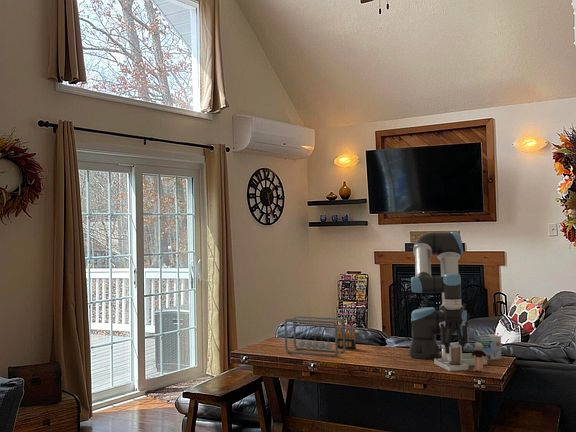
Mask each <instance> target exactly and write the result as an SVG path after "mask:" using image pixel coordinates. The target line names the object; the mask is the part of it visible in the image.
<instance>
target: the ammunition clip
mask: <svg viewBox="0 0 576 432" xmlns="http://www.w3.org/2000/svg"><path fill="white" fill-rule="evenodd" d="M339 326H340V327H339ZM337 343H338V349H343V326H342V325H337ZM356 349H357V345H356V333H355V328H354V326H352V327H351V326H349V327H348V325H346V326H345V350H356Z"/></svg>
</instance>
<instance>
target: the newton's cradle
mask: <svg viewBox="0 0 576 432" xmlns="http://www.w3.org/2000/svg"><path fill="white" fill-rule="evenodd" d="M339 321H341V322H342V334H343V348H342V350H339V348H338V343H337V326H338V325H337V322H339ZM288 322H293V323H292V324H293V326H292V327H293V347H294V349H292V350H289V349H288V326H287V325H288V324H287V323H288ZM296 322H297V323H299V324H298V325H299V328H301V326H300V325H301V324H300V322H301V323H309V324H308V325H309V327H308V328H307V326H305V328H306V331H308V330H307V329H310V324H312V326H313V325H314V323H315V324H317V323H318V324H328V327H330V325H331V324H333V325H334V341H335V343H334V344H335V346H334V347H335V348H334V349H332V347H333V344H332V342H330V339H329V336H326V338H327V342H323V340H320V342H318V341H316V337H317V336H316V333H317V332H315V331H314V330H312V332H313V335H314V338H313V341H312V342H311V341H310V340H309V334H306V335H307V336H306V338H307V340H306V341H304V340H303V339H302V333H300V334H299V335H300V340H298V341H297V334H296V333H297V332H296ZM345 323H346V322H345V321H344V319H342V318H337V317H317V316H316V317H315V316H302V315H301V316H300V315H299V316H294V317H293V318H286V319H285V321H284V347H285V348H284V349H285V352H286V353H288V354H296V353H298V354H299V355H309V356H321V357H333V358H334V357H337V356H338V355H339V354H344V353H345V352H346V349H345V334H346V326H345V325H346V324H345ZM303 327H304V326H302V330H301V332H303V331H304V330H303ZM318 327H319V329H321V328H320V325H318ZM323 328H324V325H322V329H321V330H322V332H321V333H323V330H324V329H323ZM325 329H326V332H327V331H328V330H327V328H325ZM321 333H319V335H320V338H322V334H321ZM298 349H300V351H298ZM309 350H310V351H312V352H309ZM305 351H306V352H305ZM319 352H320V353H319ZM322 352H323V353H322ZM329 353H330V354H329ZM331 353H334V354H331Z"/></svg>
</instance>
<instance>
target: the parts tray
mask: <svg viewBox="0 0 576 432" xmlns="http://www.w3.org/2000/svg"><path fill="white" fill-rule="evenodd" d="M472 353H473V352H471V353H470V352H469V353H468V352H467V353H462V360H460V362H463V363H465V364H467V365H468V367H473V366H474V367H475V355H474V357H473V358H471V355H472ZM482 357H483V356H482ZM487 365H488V360H486V359H485V357H483V366H487Z"/></svg>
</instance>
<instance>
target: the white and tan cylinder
mask: <svg viewBox="0 0 576 432" xmlns="http://www.w3.org/2000/svg"><path fill="white" fill-rule="evenodd" d="M449 346H451V359H452V361H450V365H451V366H454V365H460V352H459V342H450V345H449Z"/></svg>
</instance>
